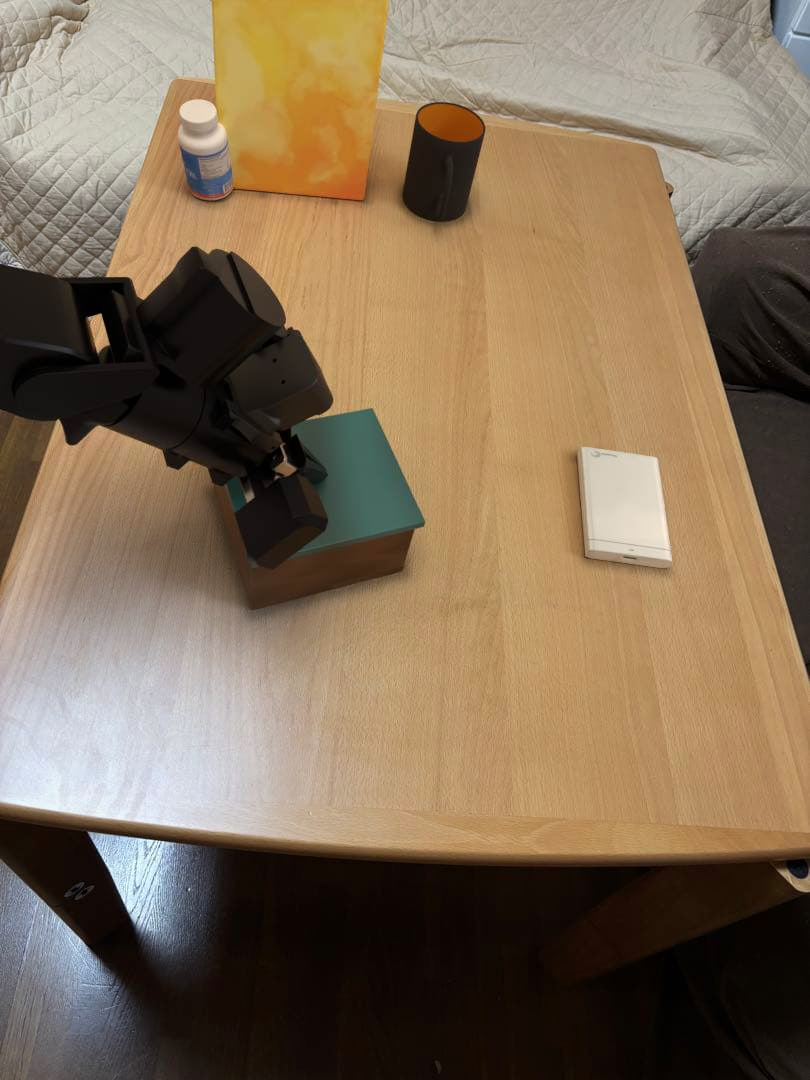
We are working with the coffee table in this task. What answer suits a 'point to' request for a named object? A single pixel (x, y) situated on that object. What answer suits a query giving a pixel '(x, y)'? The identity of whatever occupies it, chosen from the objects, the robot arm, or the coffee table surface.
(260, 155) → the mottled yellow carton
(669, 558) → the hard drive
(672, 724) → the coffee table surface
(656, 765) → the coffee table surface
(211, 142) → the pill bottle
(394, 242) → the coffee table surface
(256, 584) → the box
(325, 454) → the lid
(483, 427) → the coffee table surface
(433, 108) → the mug
